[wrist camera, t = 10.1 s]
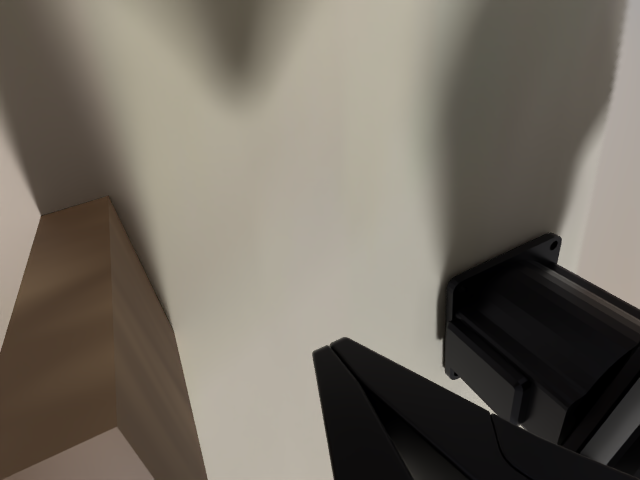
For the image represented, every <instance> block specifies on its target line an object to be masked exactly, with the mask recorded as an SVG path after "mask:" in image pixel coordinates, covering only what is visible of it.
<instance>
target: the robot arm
mask: <svg viewBox="0 0 640 480" xmlns="http://www.w3.org/2000/svg"><path fill="white" fill-rule="evenodd" d="M561 241H562V239H561V237H560V236H558V235H556V234H554V233H548V234H545V235H543V236H541V237H539V238H537V239H535V240H533V241H530V242H528V243H526V244H524V245H522V246H520V247H517V248H515V249H513V250H511V251H509V252H507V253H505V254H502V255H500V256H498V257H496V258H494V259H492V260H490V261H487V262H485V263H483V264H481V265H479V266H477V267H474V268H472V269H470V270H468V271H466V272H464V273H462V274H459V275H457V276H455V277H454V278H452V280H451V281H450V282H449V284H448V285H447V298H446V341H445V373H446V374H447V375H448V376H449V378H450V379H452V380H455V379H458V378H461V379H462V380H463V381H464V382H465V383H466V384H467V385H468V386H469V387H470V388H471V389H472V390H473V391H474V392H475V393H476V394H477V395H478V396H479V397H480V398H481V399H482V400H483V401H484V402H485V403H486V404H487V405H488V406H489V407H490V408H491V409H492V410H493V411H494V412H495V413H496V414H497V415H498V416H497V415H495V414H491V415H490V412H489V411H487V410H485V409H484V408H482V407H480V406H478V405H476V404H474V403H472V402H470V401H468V400H466V399H464V398H462V397H461V396H459V395H457V394H455V393H453V392H451V391H449V390H447V389H445V388H443V387H441V386H440V385H438V384H436V383H434V382H432V381H430V380H428V379H426V378H424V377H422V376H420V375H418V374H417V373H415V372H413V371H411V370H409V369H407V368H405V367H403V366H401V365H399V364H397V363H395V362H394V361H392V360H390V359H388V358H386V357H384V356H382V355H380V354H378V353H376V352H374V351H373V350H371V349H369V348H367V347H365V346H363V345H361V344H359V343H357V342H355V341H353V340H351V339H350V338H347V337H343V338H341V339H339V340H336V341H334V342H332V343H331V344H330V346H328V345H326V346H324V347H322V348H319V349H317V350H315V351H314V352H313V353H312V356H313V362H314V368H315V373H316V379H317V385H318V391H319V397H320V402H321V408H322V414H323V420H324V426H325V431H326V437H327V443H328V449H329V455H330V460H331V466H332V472H333V478H334V480H640V309H638V308H636V307H634V306H632V305H630V304H629V303H627V302H625V301H623V300H621V299H620V298H617V297H616V296H614V295H612V294H610V293H608V292H607V291H605V290H603V289H601V288H599V287H598V286H596V285H594V284H592V283H590V282H588V281H587V280H585V279H583V278H581V277H580V276H578V275H576V274H574V273H572V272H570V271H569V270H567V269H565V268H563V267H561V266H559V265H558V264H557V261H558V257H559V252H560V247H561ZM519 425H521V426H522V427H523V428H524V429H523V428H521V427H519Z"/></svg>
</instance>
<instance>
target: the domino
mask: <svg viewBox="0 0 640 480" xmlns="http://www.w3.org/2000/svg"><path fill="white" fill-rule="evenodd" d="M0 480H208V479H207V474H206V470H205V466H204V461H203V457H202V452H201V448H200V444H199V439H198V435H197V431H196V426H195V422H194V417H193V413H192V409H191V404H190V400H189V396H188V391H187V387H186V382H185V378H184V374H183V369H182V365H181V361H180V356H179V352H178V347H177V343H176V339H175V334H174V331H173V329H172V327H171V325H170V323H169V321H168V319H167V317H166V315H165V313H164V310H163V308H162V306H161V304H160V302H159V300H158V298H157V296H156V294H155V292H154V290H153V288H152V286H151V283H150V281H149V279H148V277H147V275H146V273H145V271H144V269H143V267H142V265H141V263H140V261H139V259H138V256H137V254H136V252H135V250H134V248H133V246H132V244H131V242H130V240H129V238H128V236H127V234H126V232H125V229H124V227H123V225H122V223H121V221H120V219H119V217H118V215H117V213H116V211H115V209H114V207H113V205H112V202H111V200H110V198H109V196H106V197H103V198H99V199H96V200H93V201H89V202H86V203H83V204H80V205H76V206H73V207H70V208H66V209H63V210H60V211H56V212H53V213H50V214H46V215H43V216H41V218H40V222H39V225H38V228H37V232H36V235H35V238H34V242H33V245H32V248H31V252H30V255H29V258H28V262H27V265H26V268H25V272H24V275H23V278H22V282H21V285H20V288H19V292H18V295H17V298H16V302H15V305H14V308H13V312H12V315H11V319H10V322H9V325H8V329H7V332H6V335H5V339H4V342H3V345H2V349H1V352H0Z"/></svg>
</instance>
